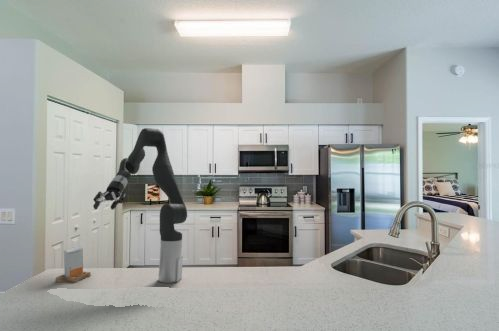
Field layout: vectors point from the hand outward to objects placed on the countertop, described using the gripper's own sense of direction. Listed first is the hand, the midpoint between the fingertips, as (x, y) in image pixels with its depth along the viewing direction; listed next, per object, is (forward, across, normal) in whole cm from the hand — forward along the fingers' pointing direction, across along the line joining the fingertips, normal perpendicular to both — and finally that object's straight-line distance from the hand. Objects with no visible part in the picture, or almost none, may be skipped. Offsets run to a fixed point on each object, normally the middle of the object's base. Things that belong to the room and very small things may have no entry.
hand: (103, 208), depth 130 cm
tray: (+29, -4, +13) cm, 32 cm away
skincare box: (+28, -4, +12) cm, 31 cm away
